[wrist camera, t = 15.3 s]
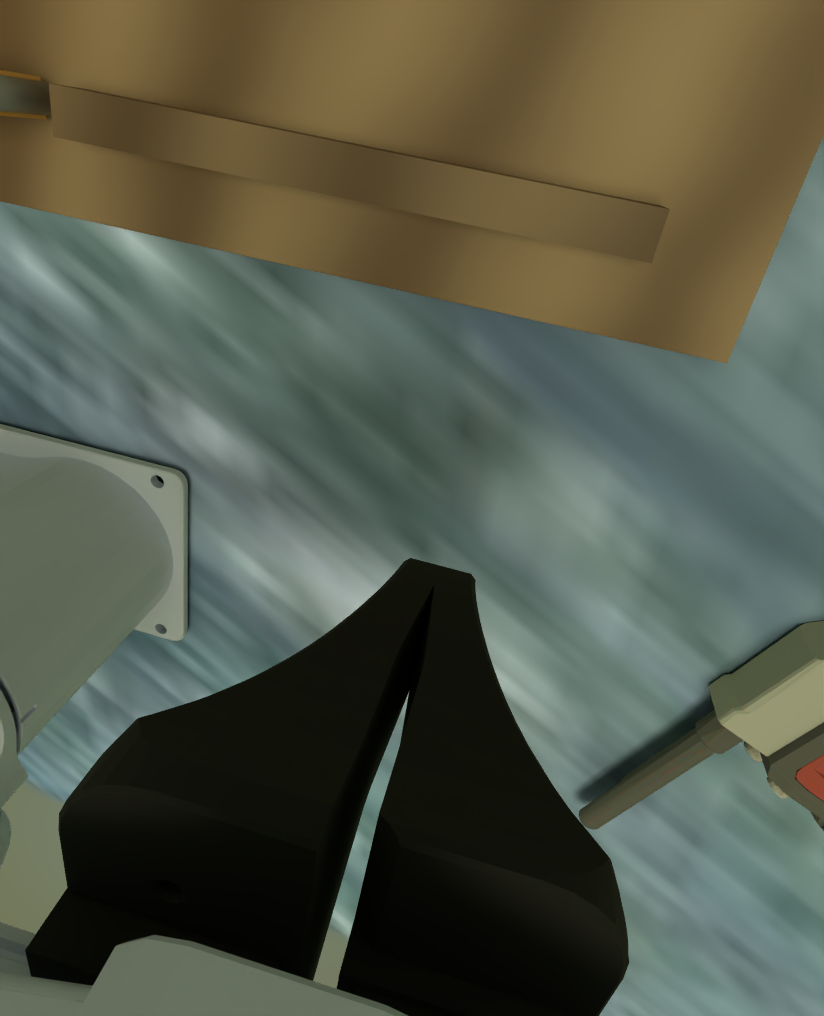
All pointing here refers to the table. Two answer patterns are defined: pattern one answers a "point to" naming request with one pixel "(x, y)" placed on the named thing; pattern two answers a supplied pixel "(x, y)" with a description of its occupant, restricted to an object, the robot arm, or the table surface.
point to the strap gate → (24, 96)
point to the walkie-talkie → (748, 729)
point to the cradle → (441, 144)
